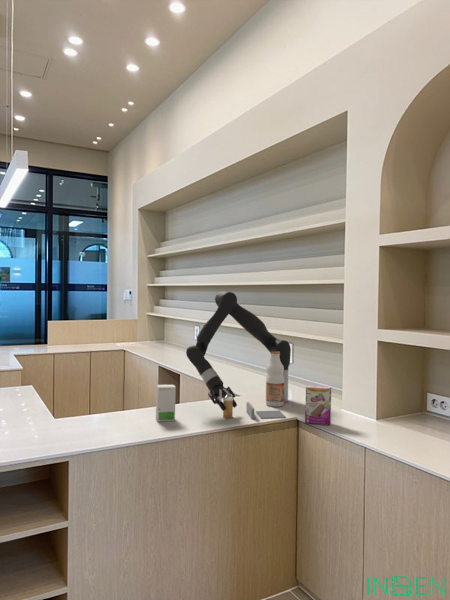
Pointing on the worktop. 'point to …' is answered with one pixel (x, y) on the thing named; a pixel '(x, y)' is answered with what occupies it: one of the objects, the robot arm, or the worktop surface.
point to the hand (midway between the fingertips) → (230, 408)
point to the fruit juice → (275, 381)
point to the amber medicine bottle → (228, 407)
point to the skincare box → (165, 403)
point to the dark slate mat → (270, 414)
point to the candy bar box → (318, 405)
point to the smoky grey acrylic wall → (250, 410)
